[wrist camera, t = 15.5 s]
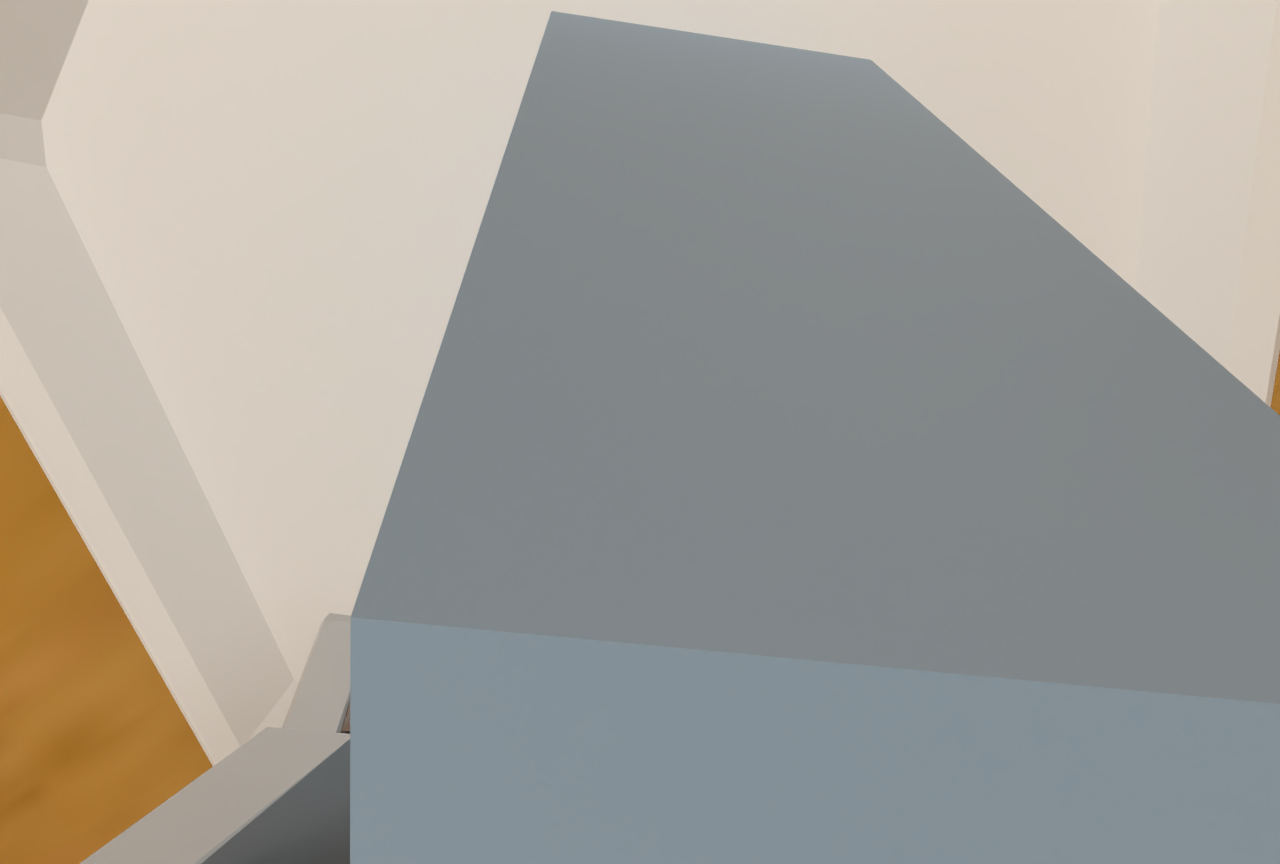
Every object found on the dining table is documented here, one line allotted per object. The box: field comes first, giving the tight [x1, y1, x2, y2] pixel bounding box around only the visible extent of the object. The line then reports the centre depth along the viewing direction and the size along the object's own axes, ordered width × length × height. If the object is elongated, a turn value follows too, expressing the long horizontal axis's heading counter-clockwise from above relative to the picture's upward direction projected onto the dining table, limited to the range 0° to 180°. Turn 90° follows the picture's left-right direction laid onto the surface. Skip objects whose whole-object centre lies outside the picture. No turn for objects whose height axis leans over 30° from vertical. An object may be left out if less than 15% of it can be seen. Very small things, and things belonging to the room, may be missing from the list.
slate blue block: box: [350, 11, 1280, 864], centre depth 11 cm, size 4×12×11 cm, turn 172°
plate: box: [0, 0, 1280, 766], centre depth 17 cm, size 21×21×2 cm
